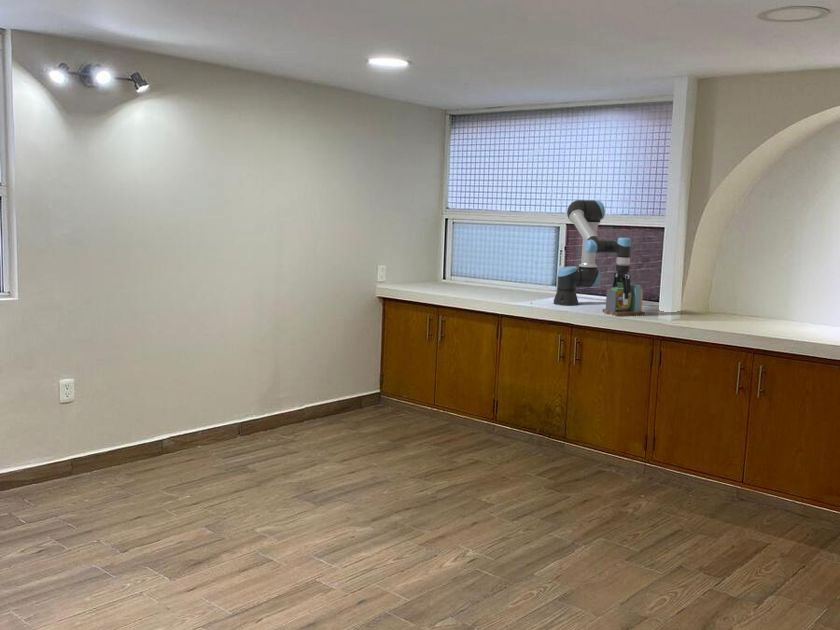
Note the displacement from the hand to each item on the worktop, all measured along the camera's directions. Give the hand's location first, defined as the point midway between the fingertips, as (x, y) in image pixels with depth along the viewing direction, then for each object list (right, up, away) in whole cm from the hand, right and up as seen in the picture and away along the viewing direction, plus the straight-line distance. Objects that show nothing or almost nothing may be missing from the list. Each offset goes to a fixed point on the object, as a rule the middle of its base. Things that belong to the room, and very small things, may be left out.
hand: (620, 303), depth 465 cm
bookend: (-6, -4, -2) cm, 8 cm away
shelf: (+2, -6, +1) cm, 6 cm away
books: (+8, -4, +3) cm, 9 cm away
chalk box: (0, -3, 0) cm, 3 cm away
